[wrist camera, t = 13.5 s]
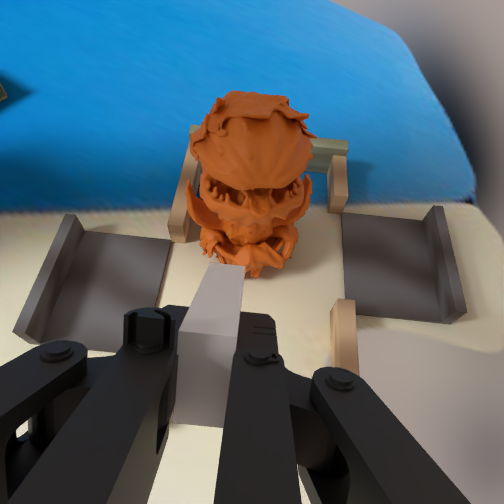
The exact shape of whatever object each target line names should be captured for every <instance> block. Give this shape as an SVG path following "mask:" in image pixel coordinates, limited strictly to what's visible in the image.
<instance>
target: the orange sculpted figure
mask: <svg viewBox="0 0 504 504" xmlns="http://www.w3.org/2000/svg"><path fill="white" fill-rule="evenodd" d="M308 117H309V114H307V113H299V112H298V111H295V110H294V109H292V108H291V107H289V99H287V97H286V96H280V95H266V94H259V93H256V92H243V91H231V92H229V93H227V94H226V95H225V96H224V97H223V99H221V98H219V97H217V99H216V103H215V104H213V105H212V109H211V111H210V113H209V114H206V116H205V118H204V121H203V122H202V124H201V127H200V128H199V129H198V130H197V131H195V132H194V133H192V135H191V136H190V140H191V142H190V153H191V154H192V156H193V157H194V158H195V161H197V160H199V161H200V162H201V166H202V174H201V176H200V197H201V198H202V199H203V200H201V199H200V198H198V197H196V196H195V195H194V193H193V189H192V185H191V181H190V180H187V185H186V190H185V191H186V192H185V196H186V197H187V199H186V201H187V210H188V213H189V215H190V217H191V218H192V220H193V221H194V222H196V223H197V224H198V225H200V226H201V233H200V235H199V236H200V241H201V240H202V241H201V242H200V246H201V247H202V248H203V250H204V252H203V254H202V255H205V254H207V252H208V256H209V258H210V257H211V256H212V255H213V251H214V252H215V253H216V254H217V256H216V257H219V261H220V263H221V264H228V263H229V264H230V265H239V266H245V274H246V272H247V271H250V270H251V274H250V275H251V277H255V278H258V277H259V275H260V272H261V270H262V268H263V266H266V267H267V266H270V265H271V266H273V267H275V268H278V269H283V265H284V262H285V261H286V260H287V259H288V258H291V257H290V255H291V254H292V251H293V249H294V245H295V244H296V243H297V241H298V232H297V229H296V228H295V227H294V225H293V223H294V222H295V221H297V220H298V219H299V218H301V217H302V216H303V215H304V214H305V212H306V210H307V209H308V206H309V203H310V194H312V192H313V191H312V180H311V179H310V178H309V174H306V175H305V177H304V179H303V182H302V179H301V177H300V175H301V174H302V173H303V172H304V171H305V170H306V167H307V164H308V162H309V161H310V160H312V158H313V155H312V154H311V149H312V148H313V144H312V142H311V141H310V138H317V137H316V136H315V135H313V134H312V133H309V132H308V131H306V130H305V129H307V127H306V124H305V123H304V121H302V120H304V119H307V118H308ZM284 243H285V246H284V248H283V251H282V252H281V253H280V254H278V252H279V250H280V249H281V248H282V246H283V245H284ZM206 248H207V249H206ZM226 261H227V262H228V263H227V262H226Z"/></svg>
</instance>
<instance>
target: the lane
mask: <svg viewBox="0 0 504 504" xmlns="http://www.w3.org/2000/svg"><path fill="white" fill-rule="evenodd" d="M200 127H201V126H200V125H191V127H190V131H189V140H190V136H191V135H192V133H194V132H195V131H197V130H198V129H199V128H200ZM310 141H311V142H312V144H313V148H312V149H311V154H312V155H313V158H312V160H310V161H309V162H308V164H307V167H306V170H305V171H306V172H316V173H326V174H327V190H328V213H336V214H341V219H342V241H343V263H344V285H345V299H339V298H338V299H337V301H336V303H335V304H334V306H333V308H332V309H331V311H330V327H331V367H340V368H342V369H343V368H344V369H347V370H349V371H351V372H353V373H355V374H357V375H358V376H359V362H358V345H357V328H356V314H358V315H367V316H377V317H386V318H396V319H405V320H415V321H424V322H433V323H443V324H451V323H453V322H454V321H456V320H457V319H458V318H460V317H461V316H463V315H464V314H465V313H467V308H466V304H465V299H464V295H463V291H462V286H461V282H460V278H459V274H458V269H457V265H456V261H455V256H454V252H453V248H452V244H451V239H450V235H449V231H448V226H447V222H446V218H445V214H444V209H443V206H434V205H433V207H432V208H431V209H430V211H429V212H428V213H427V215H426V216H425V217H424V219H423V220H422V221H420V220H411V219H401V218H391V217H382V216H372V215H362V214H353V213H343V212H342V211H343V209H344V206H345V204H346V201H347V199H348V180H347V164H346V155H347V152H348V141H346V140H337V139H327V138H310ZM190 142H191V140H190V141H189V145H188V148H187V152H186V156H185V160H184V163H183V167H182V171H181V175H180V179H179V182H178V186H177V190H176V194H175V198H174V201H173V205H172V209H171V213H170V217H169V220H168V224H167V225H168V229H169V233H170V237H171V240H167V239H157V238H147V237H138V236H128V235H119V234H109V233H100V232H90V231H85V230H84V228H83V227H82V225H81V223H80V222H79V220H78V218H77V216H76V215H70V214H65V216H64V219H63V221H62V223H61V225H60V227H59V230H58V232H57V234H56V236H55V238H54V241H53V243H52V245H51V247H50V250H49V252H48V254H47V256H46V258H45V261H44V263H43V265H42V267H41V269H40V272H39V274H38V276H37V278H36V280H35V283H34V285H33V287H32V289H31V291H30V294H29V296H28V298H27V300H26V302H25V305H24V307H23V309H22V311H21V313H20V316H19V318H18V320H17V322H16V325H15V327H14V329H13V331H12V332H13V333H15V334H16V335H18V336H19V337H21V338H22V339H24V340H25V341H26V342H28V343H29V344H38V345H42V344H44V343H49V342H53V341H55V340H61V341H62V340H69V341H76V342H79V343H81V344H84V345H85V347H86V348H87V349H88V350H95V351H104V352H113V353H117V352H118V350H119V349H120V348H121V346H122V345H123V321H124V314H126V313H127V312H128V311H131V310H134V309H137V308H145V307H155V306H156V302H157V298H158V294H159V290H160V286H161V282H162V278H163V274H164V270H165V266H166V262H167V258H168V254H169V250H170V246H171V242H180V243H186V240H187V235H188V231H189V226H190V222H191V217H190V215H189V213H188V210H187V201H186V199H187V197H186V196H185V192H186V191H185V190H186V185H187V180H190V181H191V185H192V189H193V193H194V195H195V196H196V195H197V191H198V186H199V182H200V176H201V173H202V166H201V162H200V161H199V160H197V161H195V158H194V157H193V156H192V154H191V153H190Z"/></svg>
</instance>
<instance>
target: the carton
mask: <svg viewBox="0 0 504 504" xmlns="http://www.w3.org/2000/svg"><path fill="white" fill-rule="evenodd" d="M7 96H8V95H7V93H6V91H5V89H4V88H3V87H2V85H1V83H0V101H2V100H4V99H6V98H7Z"/></svg>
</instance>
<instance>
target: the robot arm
mask: <svg viewBox="0 0 504 504" xmlns="http://www.w3.org/2000/svg"><path fill="white" fill-rule="evenodd" d="M244 275H245V266H239V265H230V264H221V263H212V262H210V265H209V267H208V269H207V271H206V273H205V275H204V277H203V280H202V282H201V284H200V286H199V288H198V290H197V292H196V294H195V297H194V299H193V301H192V303H191V305H190V307H184V306H175V305H167V306H165V307H163V308H156V307H145V308H137V309H134V310H131V311H128V312H127V313H126V314H124V321H123V345H122V346H121V348H120V349H119V350H118V352H117V353H116V354H115V355H113V356H106V357H93V358H87V351H88V349H87V348H86V347H85V345H84V344H81V343H79V342H76V341H69V340H62V341H61V340H55V341H53V342H49V343H44V344H42V345H39V346H37V347H35V348H33V349H31V350H29V351H27V352H26V353H24V354H22V355H20V356H18V357H17V358H15V359H13V360H11V361H10V362H8V363H6V364H4V365H2V366H1V367H0V504H147V501H148V498H149V495H150V492H151V489H152V486H153V483H154V480H155V476H156V473H157V470H158V467H159V464H160V461H161V458H162V455H163V452H164V448H165V445H166V442H167V439H168V434H169V420H170V417H171V414H172V411H173V421H172V423H180V424H189V425H199V426H209V427H218V428H223V436H222V443H221V451H220V458H219V466H218V473H217V481H216V488H215V496H214V504H302V502H301V494H300V486H299V478H298V471H299V476H300V478H301V481H302V483H303V485H304V488H305V490H306V493H307V495H308V498H309V500H310V502H311V504H471V503H470V502H469V501H468V500H467V499H466V497H465V496H464V495H463V494H462V493H461V492H460V490H459V489H458V488H457V487H456V486H455V485H454V483H453V482H452V481H451V480H450V479H449V478H448V477H447V475H446V474H445V473H444V472H443V471H442V470H441V468H440V467H439V466H438V465H437V464H436V463H435V462H434V460H433V459H432V458H431V457H430V456H429V455H428V454H427V453H426V451H425V450H424V449H423V448H422V447H421V445H420V444H419V443H418V442H417V441H416V440H415V438H414V437H413V436H412V435H411V434H410V433H409V431H408V430H407V429H406V428H405V427H404V426H403V425H402V423H401V422H400V421H399V420H398V419H397V418H396V416H395V415H394V414H393V413H392V412H391V411H390V410H389V408H388V407H387V406H386V405H385V404H384V403H383V401H382V400H381V399H380V398H379V397H378V396H377V395H376V393H375V392H374V391H373V390H372V389H371V388H370V386H369V385H368V384H367V383H366V382H365V381H364V380H363V379H362V378H360V376H358V375H357V374H355V373H353V372H351V371H349V370H347V369H344V368H343V369H342V368H340V367H324V368H320V369H318V370H316V371H315V372H314V374H313V377H312V379H310V378H306V377H303V376H300V375H298V374H295V373H293V372H291V371H289V370H288V369H286V368H285V366H284V360H283V358H282V356H281V355H280V354H278V345H277V336H276V326H275V321H274V320H273V319H272V318H271V317H270V316H269V314H260V313H250V312H241V303H242V294H243V284H244ZM27 420H28V431H27V432H26V433H24V434H23V435H22V436H20V437H18V438H17V437H16V429H17V428H18V427H19V426H20V425H22V424H23V423H24V422H26V421H27ZM297 464H298V470H297Z"/></svg>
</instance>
